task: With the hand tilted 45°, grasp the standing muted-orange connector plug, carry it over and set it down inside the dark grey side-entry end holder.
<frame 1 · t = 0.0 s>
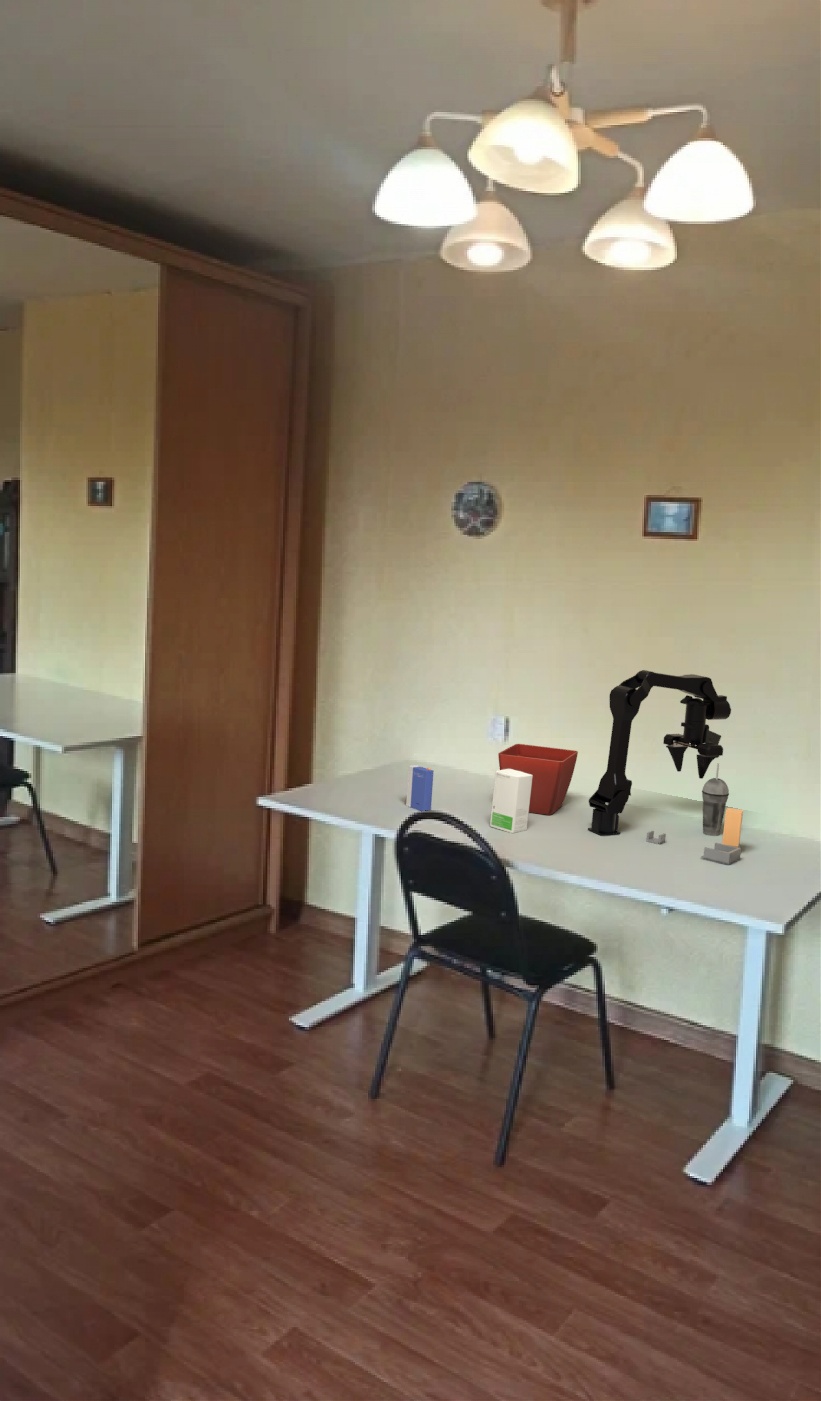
hand: (689, 774, 316), 15 cm above the table, tool pointing down, fingers open, 9 cm apart
skincare box: (509, 829, 302), on the table
plant pot: (534, 809, 327), on the table
plug: (730, 851, 293), on the table
walkman: (418, 809, 319), on the table
beverage cup: (711, 834, 311), on the table
holder: (720, 859, 285), on the table
clip: (655, 841, 298), on the table
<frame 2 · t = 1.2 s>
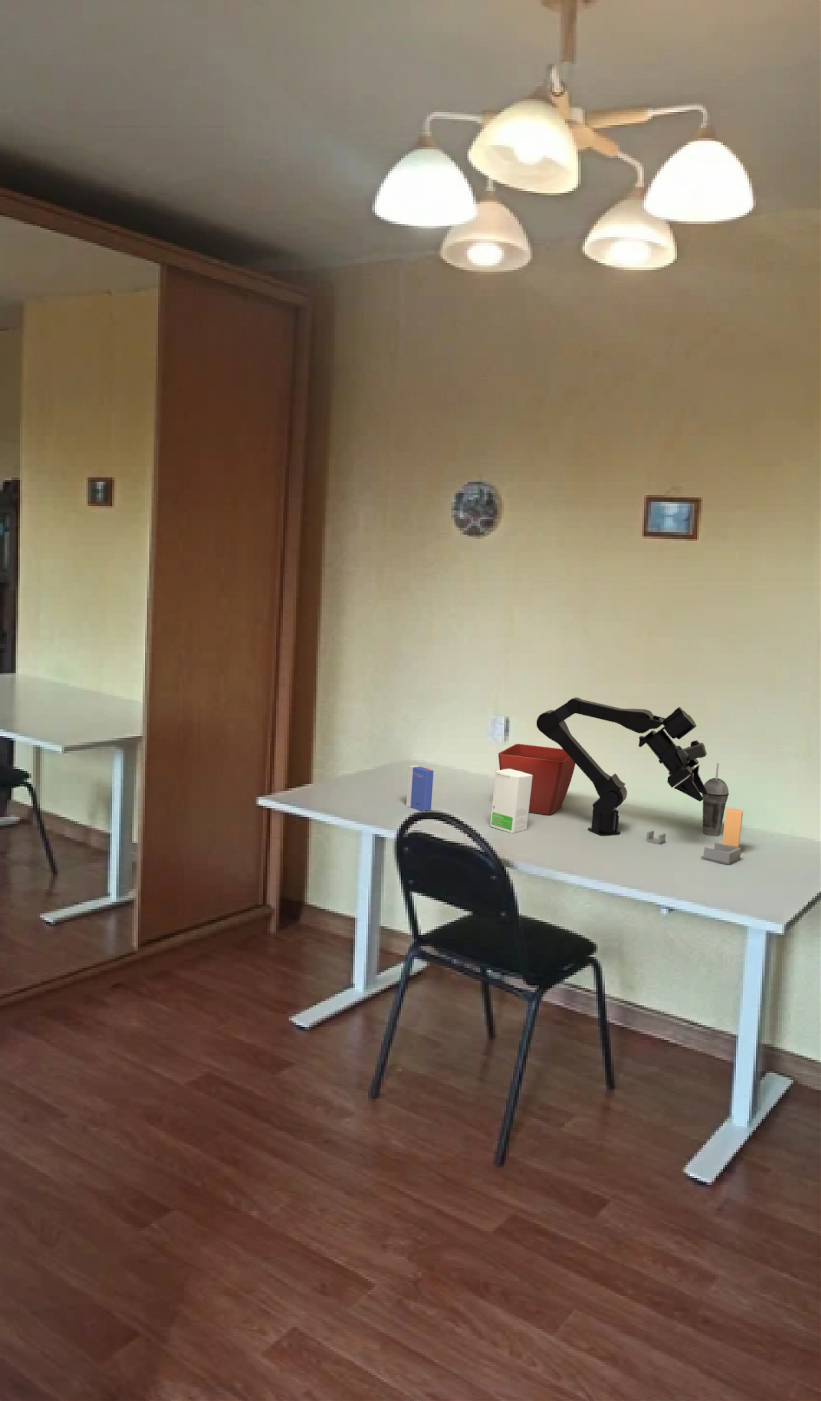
hand: (703, 797, 294), 13 cm above the table, tool tilted 45°, fingers open, 9 cm apart
nothing on the table moved.
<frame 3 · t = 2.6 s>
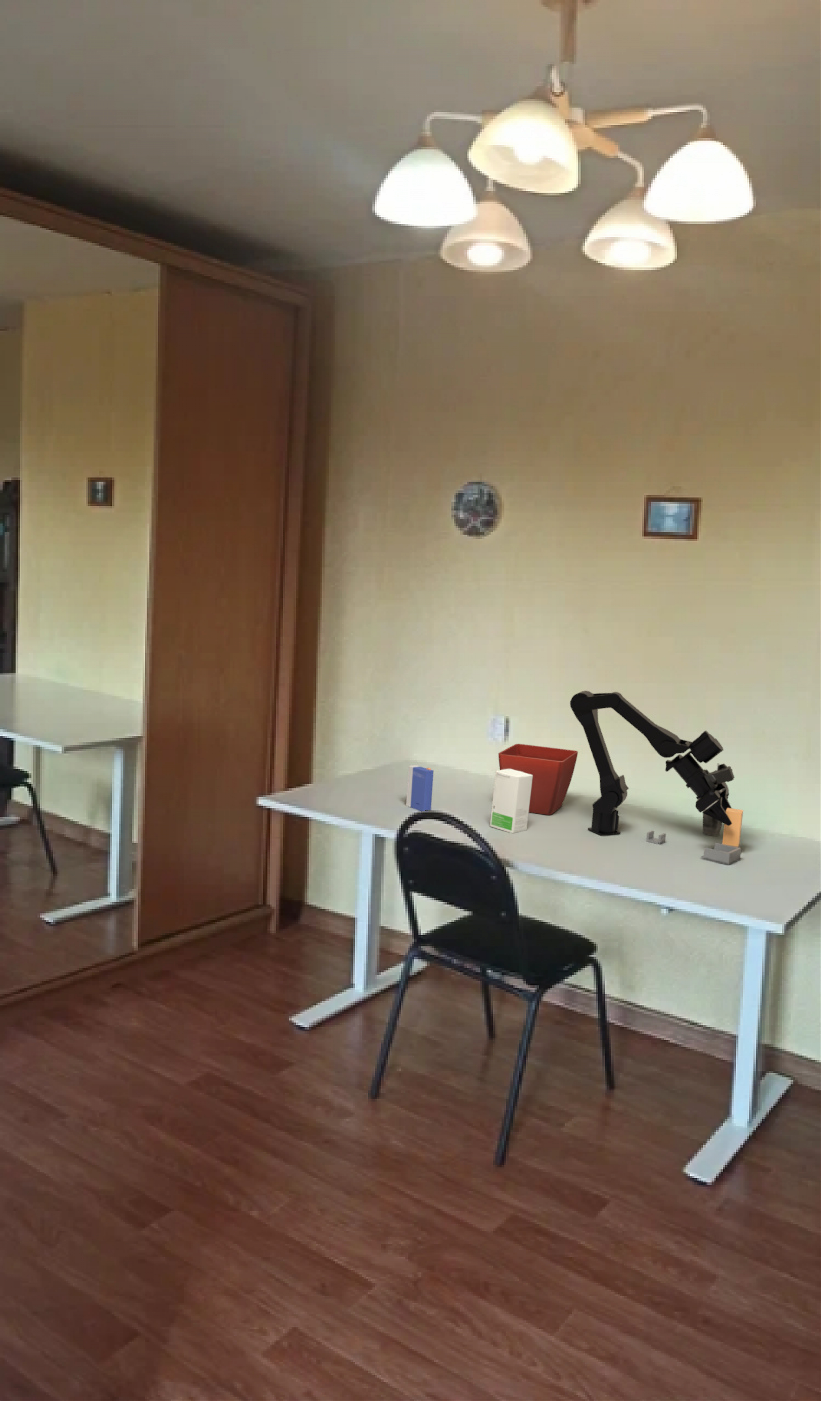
hand: (732, 820, 292), 8 cm above the table, tool tilted 45°, fingers open, 9 cm apart
nothing on the table moved.
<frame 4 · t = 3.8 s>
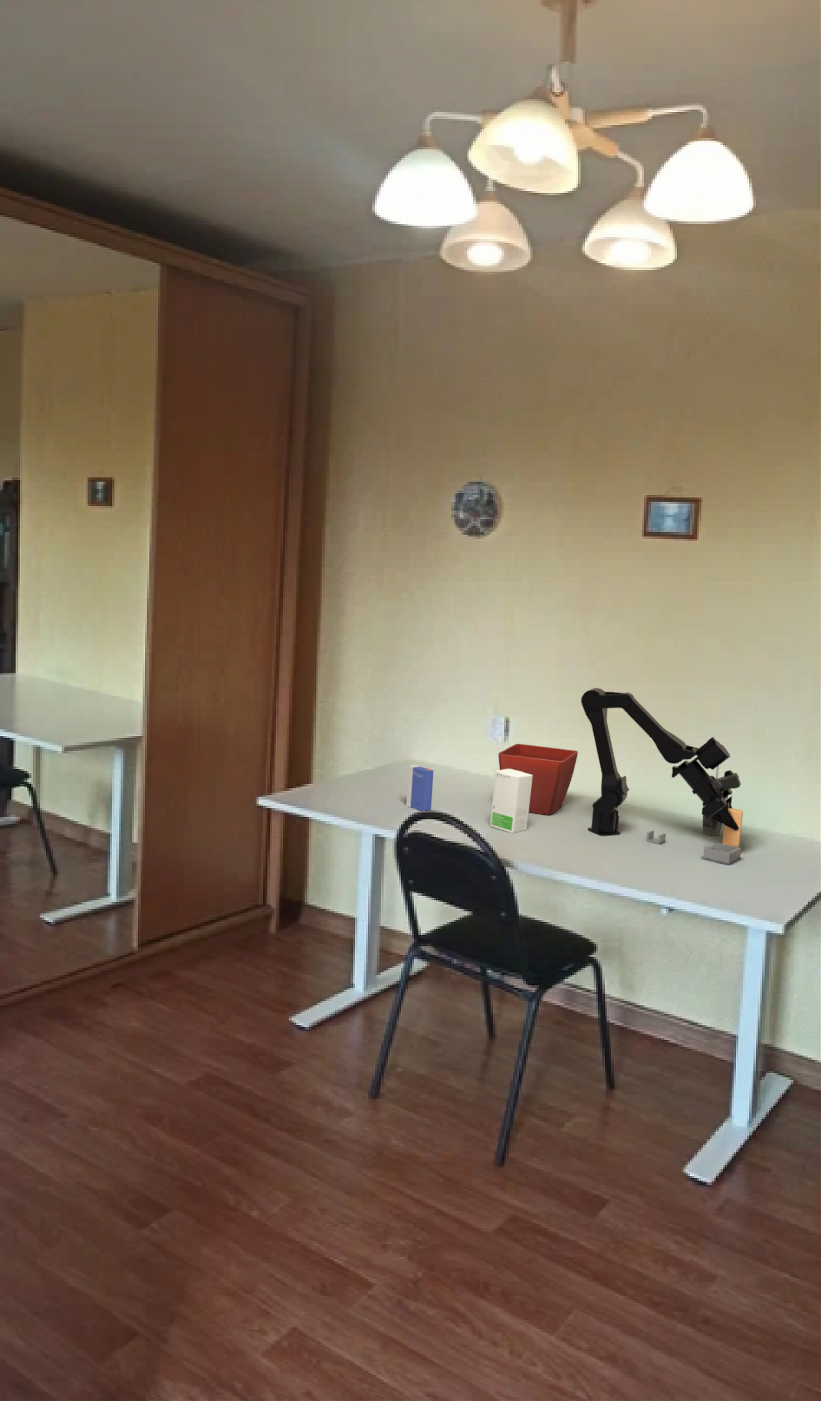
hand: (738, 827, 291), 7 cm above the table, tool tilted 45°, fingers closed on plug, 4 cm apart
plug: (730, 851, 293), on the table, touching gripper
everything else where it was.
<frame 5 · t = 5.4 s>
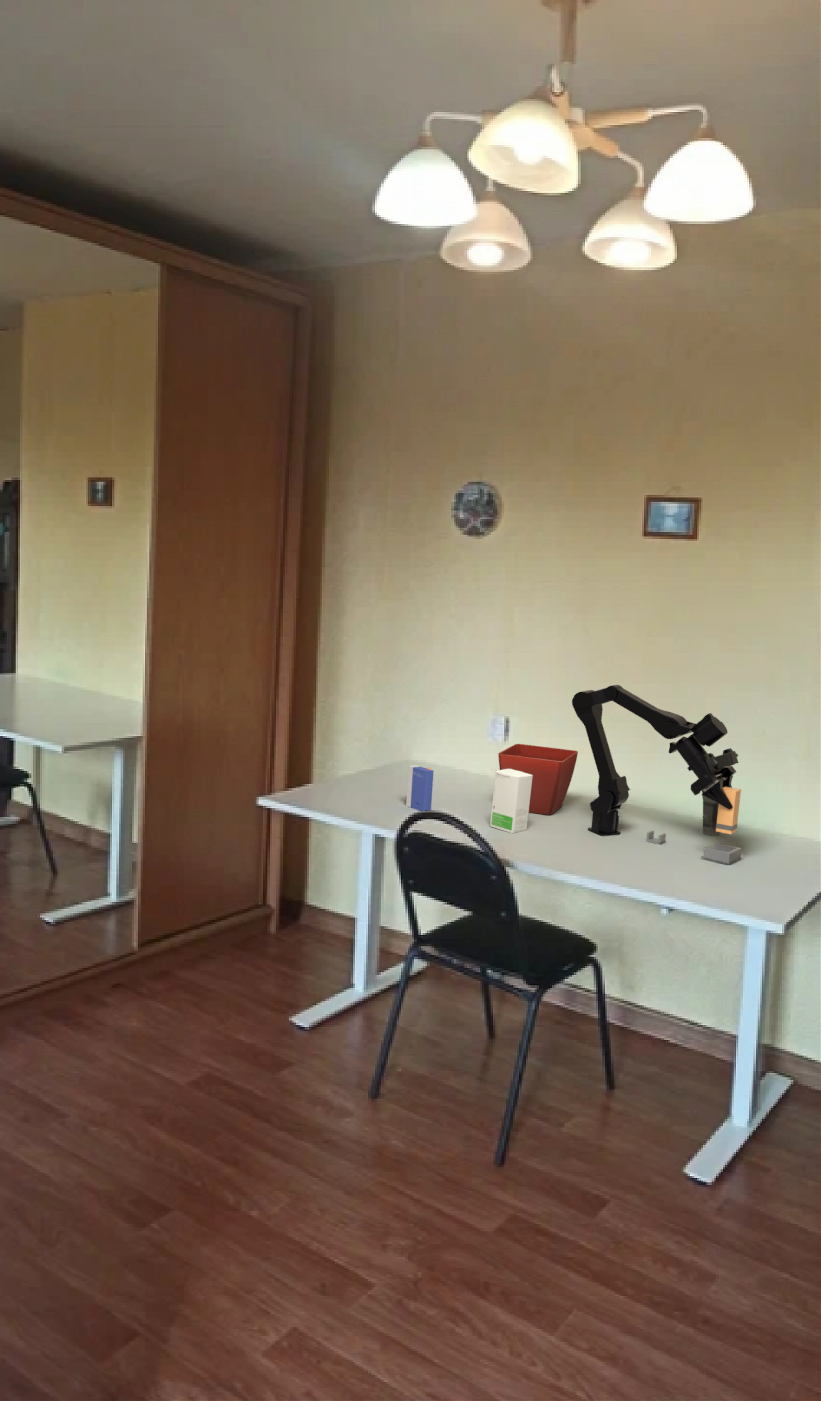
hand: (734, 807, 284), 13 cm above the table, tool tilted 45°, fingers closed on plug, 4 cm apart
plug: (726, 831, 285), point 7 cm above the table, touching gripper
everything else where it was.
when the fingers open (8 cm above the table, at t = 7.0 s): plug drops 1 cm, resting on holder.
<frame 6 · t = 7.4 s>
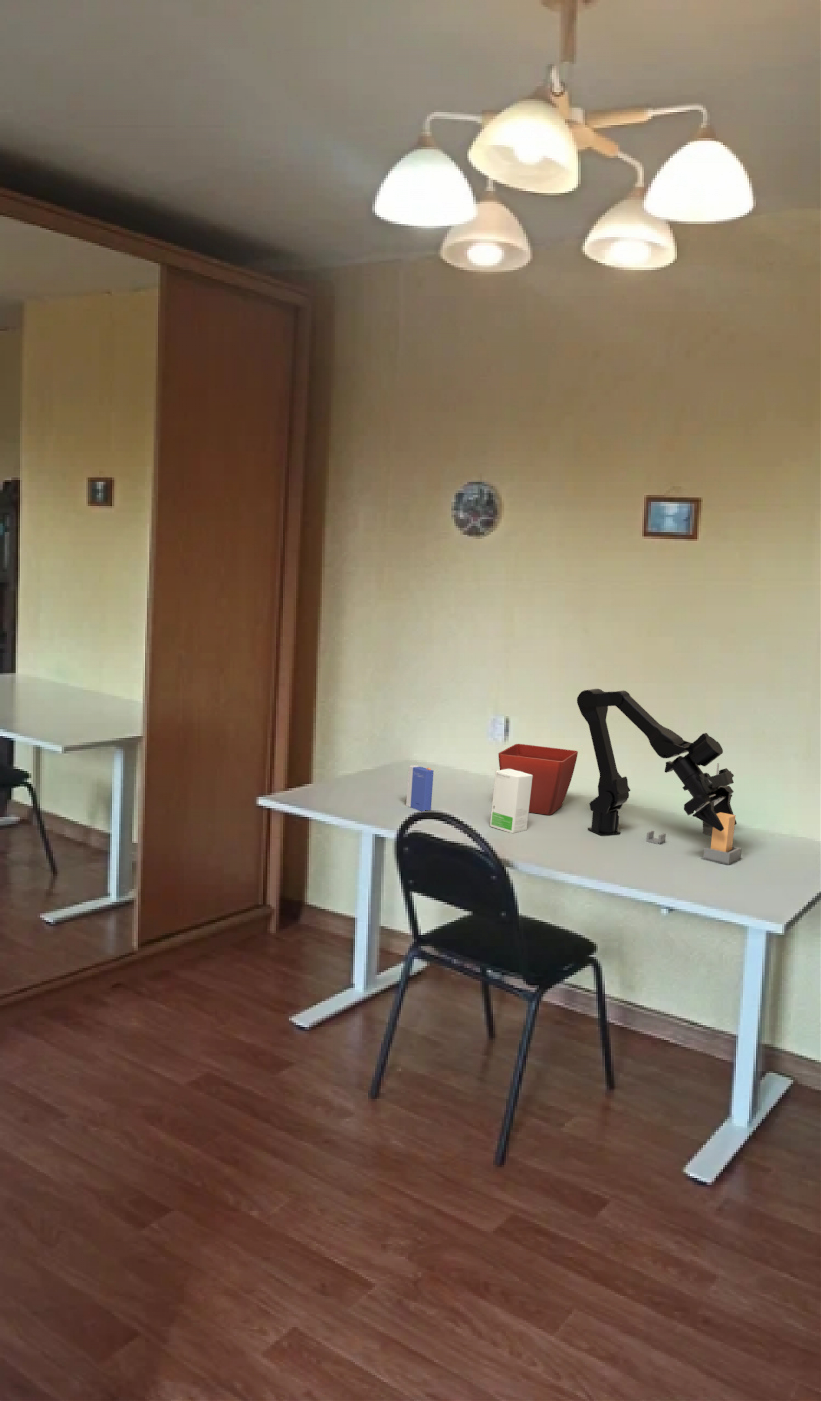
hand: (728, 827, 283), 9 cm above the table, tool tilted 45°, fingers open, 8 cm apart
plug: (720, 857, 285), resting on holder
everything else where it was.
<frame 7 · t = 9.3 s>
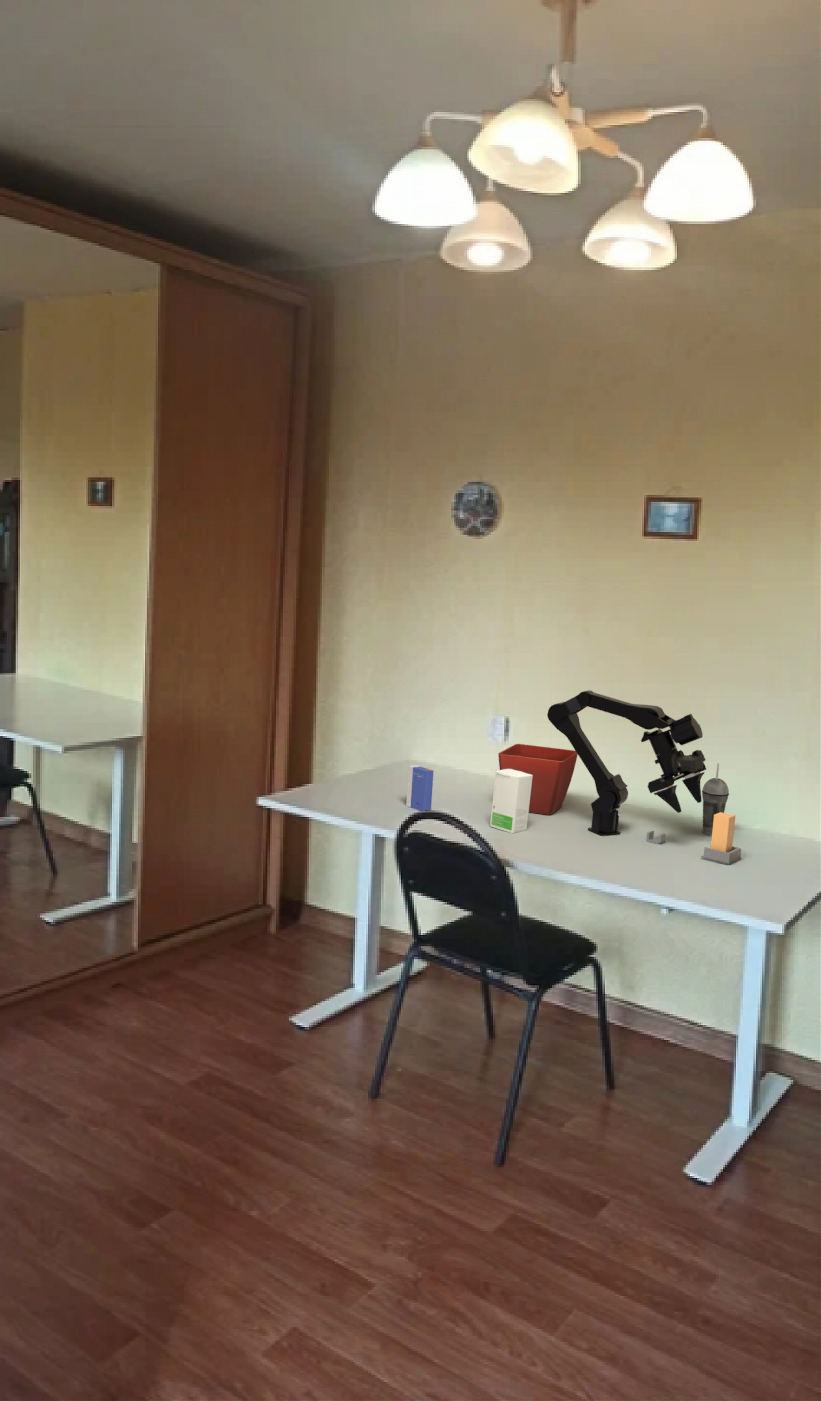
hand: (689, 807, 292), 11 cm above the table, tool tilted 30°, fingers open, 9 cm apart
nothing on the table moved.
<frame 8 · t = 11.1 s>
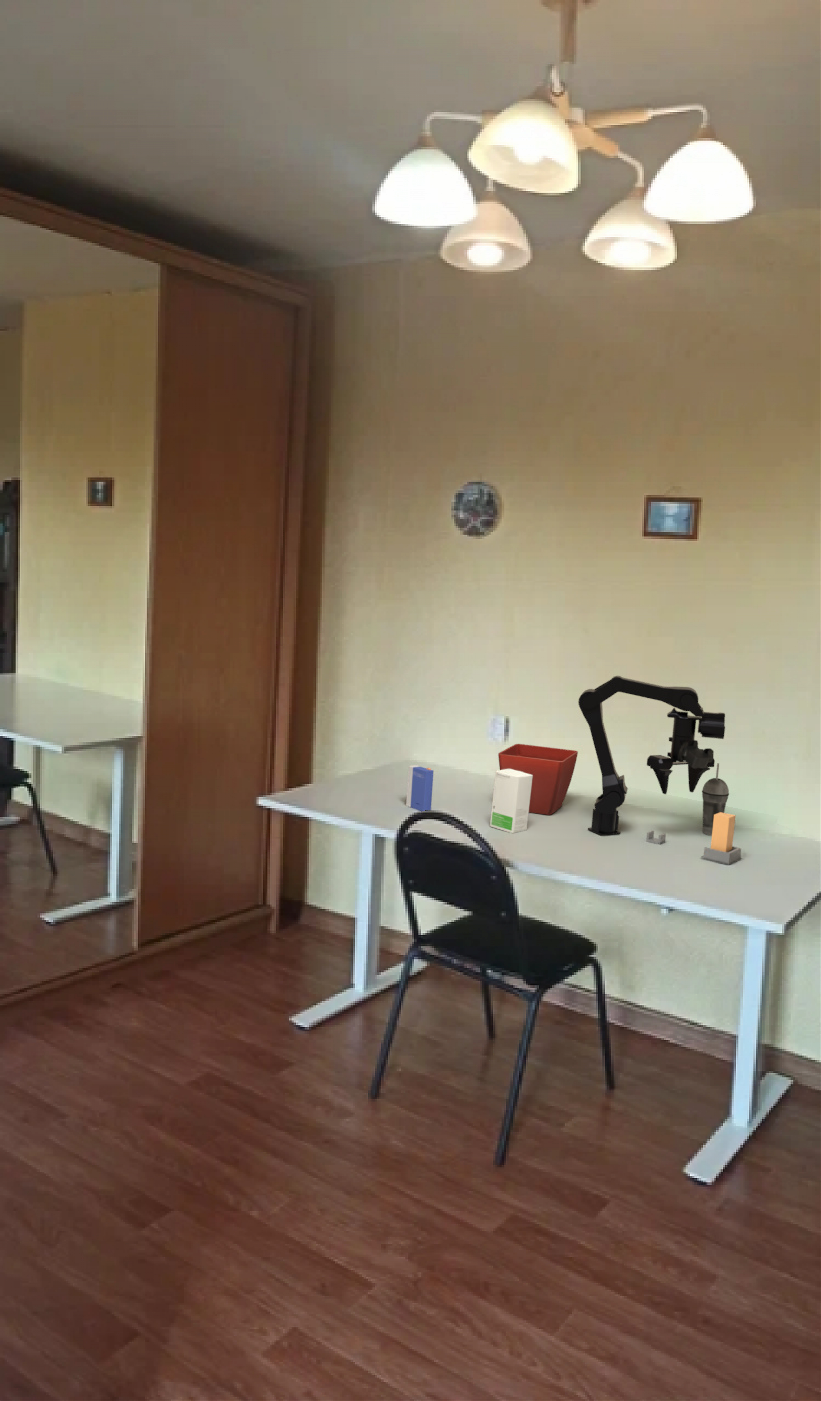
hand: (678, 792, 299), 13 cm above the table, tool pointing down, fingers open, 9 cm apart
nothing on the table moved.
at the end: plug 0.0 cm off-centre on the holder, point 0.5 cm above the holder's base; plug tilted 0°; the gripper is holding nothing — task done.
